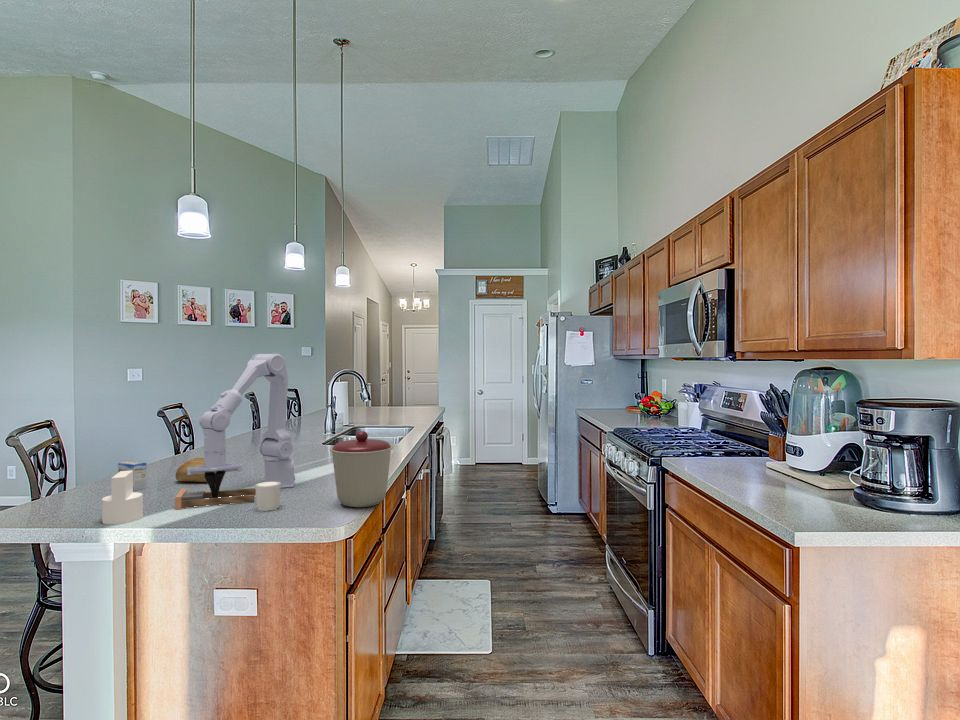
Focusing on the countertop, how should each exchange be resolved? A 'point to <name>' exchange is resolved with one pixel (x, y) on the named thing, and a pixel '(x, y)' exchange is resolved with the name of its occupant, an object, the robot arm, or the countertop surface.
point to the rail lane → (216, 501)
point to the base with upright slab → (122, 501)
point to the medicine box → (135, 473)
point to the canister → (361, 470)
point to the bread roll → (182, 474)
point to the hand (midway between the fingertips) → (215, 497)
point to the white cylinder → (268, 495)
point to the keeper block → (194, 495)
